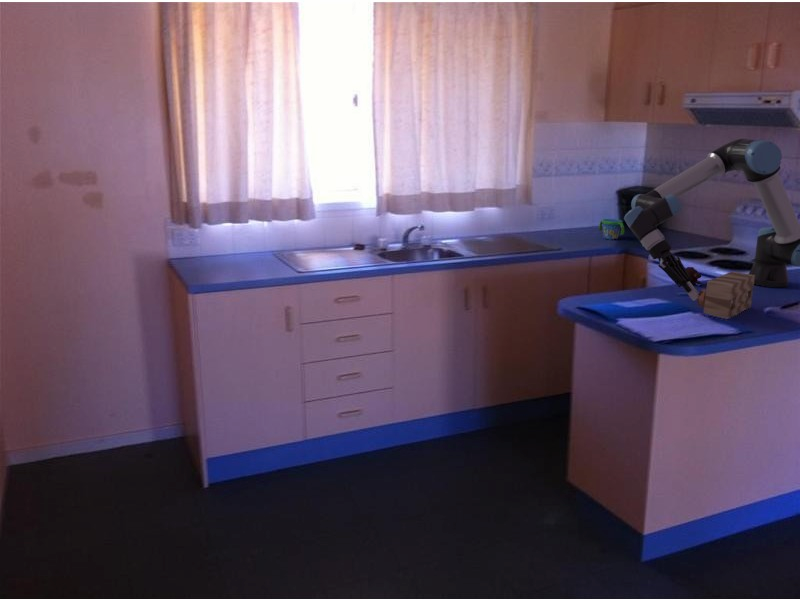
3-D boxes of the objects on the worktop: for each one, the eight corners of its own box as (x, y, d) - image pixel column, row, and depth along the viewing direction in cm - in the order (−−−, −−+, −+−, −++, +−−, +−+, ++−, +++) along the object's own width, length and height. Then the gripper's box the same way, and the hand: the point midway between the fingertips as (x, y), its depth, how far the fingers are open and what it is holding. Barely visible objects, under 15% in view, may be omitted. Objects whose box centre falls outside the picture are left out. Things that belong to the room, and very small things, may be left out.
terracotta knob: (703, 304, 252) (705, 287, 250) (734, 310, 244) (736, 293, 243) (696, 307, 247) (698, 290, 246) (727, 313, 240) (729, 296, 239)
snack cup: (628, 240, 383) (630, 221, 380) (613, 242, 378) (615, 223, 375) (607, 235, 396) (609, 217, 393) (593, 237, 391) (594, 218, 389)
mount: (726, 303, 261) (730, 271, 258) (750, 307, 255) (755, 275, 252) (701, 315, 246) (706, 281, 242) (726, 320, 240) (731, 285, 237)
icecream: (669, 264, 295) (691, 275, 281) (685, 259, 296) (708, 270, 282) (670, 279, 298) (692, 291, 284) (686, 274, 299) (709, 286, 285)
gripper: (656, 248, 263) (696, 301, 256) (640, 253, 254) (680, 308, 248) (672, 236, 258) (713, 289, 252) (656, 241, 249) (697, 296, 243)
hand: (697, 298), depth 250 cm, fingers closed
